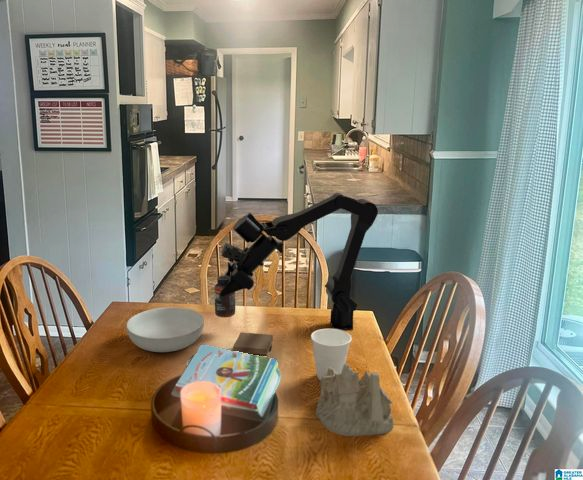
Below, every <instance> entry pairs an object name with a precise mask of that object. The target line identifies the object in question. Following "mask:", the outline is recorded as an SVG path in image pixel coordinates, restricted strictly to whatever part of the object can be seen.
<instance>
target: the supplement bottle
mask: <svg viewBox="0 0 583 480" xmlns="http://www.w3.org/2000/svg"><path fill="white" fill-rule="evenodd" d="M216 280H217V281H216V282H217V283H216V284H215V285H214V287H213V290H214V294H213V295H214V314H215V316H217V317H219V318H223V319H224V318H230V317H231V318H232V317H233V316H235V314H236V292H233V293H230V294H228V295H225V296H221V295H220V292H221V291H222V289H223V288H224V287H225V285H226V284H227V283H228V281H229V280H230V276H225V275H219V276H218V277H217V279H216Z"/></svg>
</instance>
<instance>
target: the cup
mask: <svg viewBox="0 0 583 480" xmlns="http://www.w3.org/2000/svg"><path fill="white" fill-rule="evenodd" d="M310 334H311V335H310V339H311V343H312V349H313V356H314V362H315V371H316V377H317V379H318V380H319V381H321V378H322V377H323V376H325V374H327V372H328V368H329V367H332V368H333V369H334V370H336V372H337V373H338V374H341V373H342V369H343V366H344V364H345V363H347V362H346V361H347V358H348V357H347V356H348V353H349V349H350V344H351V342H352V339H353V338H352V335H351V334H349V333H348V332H347V331H345V330H343V329H337V328H322V329H321V328H320V329H317V330H314V331H313V332H311V333H310Z"/></svg>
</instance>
